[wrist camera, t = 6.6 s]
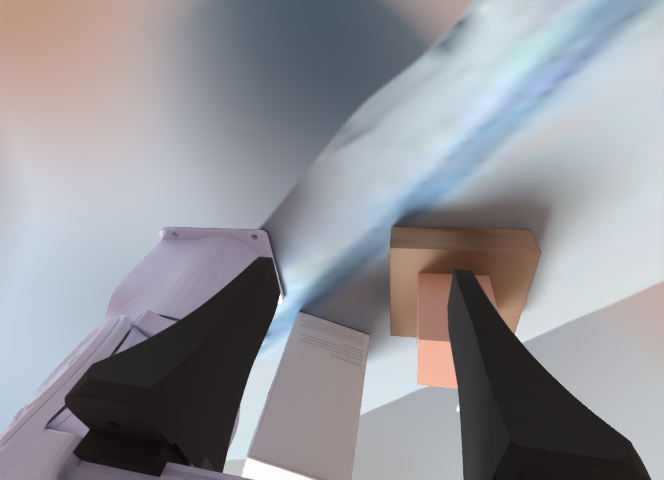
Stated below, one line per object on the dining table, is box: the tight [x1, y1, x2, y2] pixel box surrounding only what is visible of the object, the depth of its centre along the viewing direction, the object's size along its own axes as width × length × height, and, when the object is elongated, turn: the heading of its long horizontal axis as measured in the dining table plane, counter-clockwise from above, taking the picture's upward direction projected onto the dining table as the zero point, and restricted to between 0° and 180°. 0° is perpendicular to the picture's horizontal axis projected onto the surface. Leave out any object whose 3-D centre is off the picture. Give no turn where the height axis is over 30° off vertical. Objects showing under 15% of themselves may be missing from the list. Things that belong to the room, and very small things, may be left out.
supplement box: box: [241, 312, 370, 480], centre depth 29 cm, size 7×7×13 cm
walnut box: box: [390, 227, 541, 338], centre depth 25 cm, size 9×9×3 cm
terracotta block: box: [417, 273, 498, 389], centre depth 22 cm, size 4×4×6 cm
